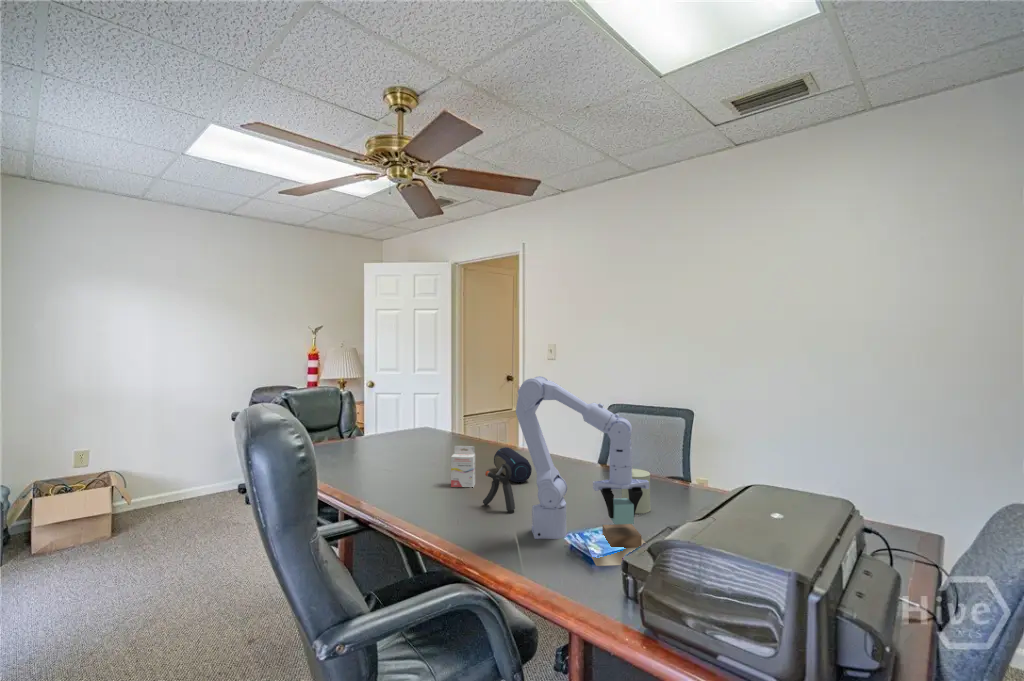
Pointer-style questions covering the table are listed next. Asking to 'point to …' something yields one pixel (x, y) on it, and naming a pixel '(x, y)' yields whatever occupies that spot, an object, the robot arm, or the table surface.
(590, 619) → the table surface
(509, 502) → the hand grip strengthener
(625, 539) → the walnut base
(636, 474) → the can
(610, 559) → the birch board
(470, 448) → the ink cartridge box
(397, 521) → the table surface
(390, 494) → the table surface
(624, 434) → the robot arm
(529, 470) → the portable speaker
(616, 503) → the teal cube
